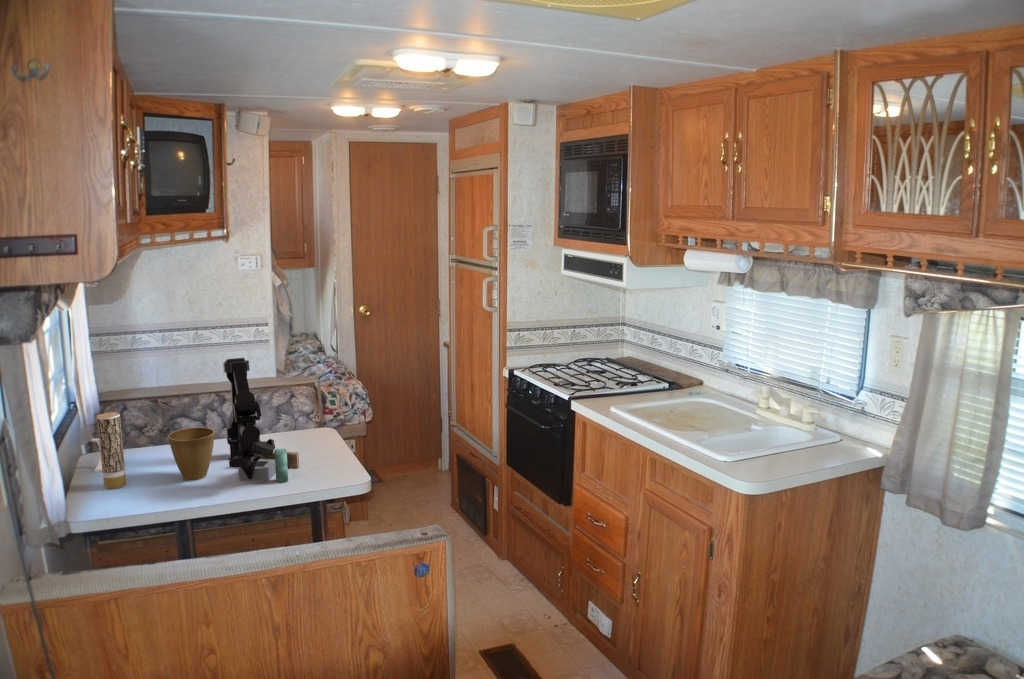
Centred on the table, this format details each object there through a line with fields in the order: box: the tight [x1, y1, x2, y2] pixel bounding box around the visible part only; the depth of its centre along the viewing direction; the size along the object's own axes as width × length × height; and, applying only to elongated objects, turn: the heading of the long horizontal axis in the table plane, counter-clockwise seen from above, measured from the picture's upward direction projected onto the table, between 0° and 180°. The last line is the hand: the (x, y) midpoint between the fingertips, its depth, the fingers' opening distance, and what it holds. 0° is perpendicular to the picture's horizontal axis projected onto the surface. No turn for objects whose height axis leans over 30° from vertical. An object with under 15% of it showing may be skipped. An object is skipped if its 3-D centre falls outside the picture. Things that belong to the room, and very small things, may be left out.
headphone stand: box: [90, 438, 103, 473], centre depth 279 cm, size 5×6×12 cm
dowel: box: [273, 448, 289, 484], centre depth 266 cm, size 4×4×11 cm
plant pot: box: [167, 426, 215, 482], centre depth 270 cm, size 15×15×16 cm
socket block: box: [237, 459, 276, 482], centre depth 271 cm, size 10×10×4 cm
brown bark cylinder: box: [96, 411, 127, 490], centre depth 261 cm, size 7×7×25 cm
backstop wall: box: [257, 451, 300, 470], centre depth 280 cm, size 20×2×6 cm, turn 86°
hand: (250, 479), depth 265 cm, fingers closed
